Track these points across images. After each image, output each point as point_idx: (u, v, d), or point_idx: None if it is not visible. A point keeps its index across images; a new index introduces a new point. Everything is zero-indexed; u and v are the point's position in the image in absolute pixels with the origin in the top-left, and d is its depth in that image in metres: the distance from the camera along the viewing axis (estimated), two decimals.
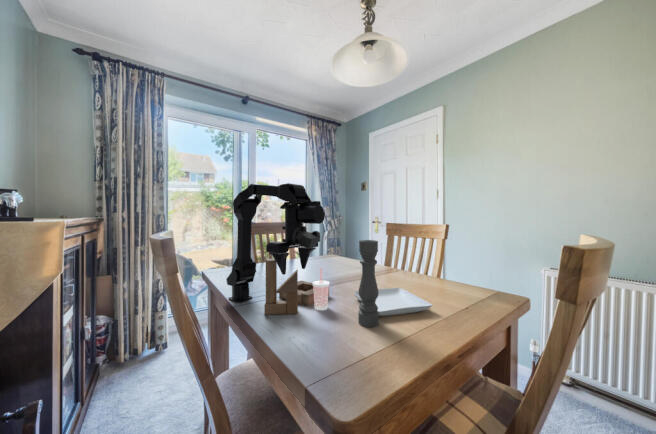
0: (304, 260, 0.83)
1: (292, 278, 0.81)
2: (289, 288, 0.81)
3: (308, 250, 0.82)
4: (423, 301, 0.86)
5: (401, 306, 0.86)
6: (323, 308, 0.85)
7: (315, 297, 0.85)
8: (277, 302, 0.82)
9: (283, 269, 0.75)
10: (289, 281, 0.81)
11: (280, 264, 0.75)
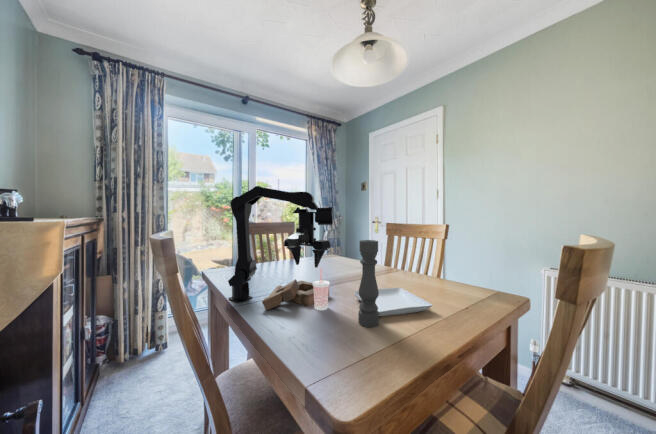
0: None
1: None
2: (287, 285, 0.92)
3: None
4: (423, 301, 0.86)
5: (401, 306, 0.86)
6: (323, 308, 0.85)
7: (315, 297, 0.85)
8: None
9: None
10: None
11: None
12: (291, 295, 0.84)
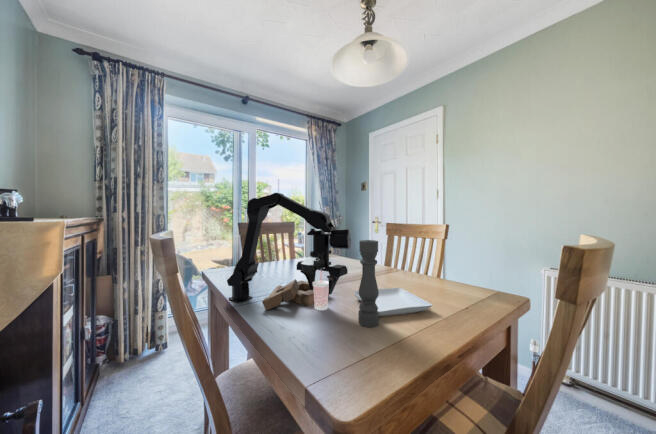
0: None
1: None
2: (287, 285, 0.92)
3: None
4: (423, 301, 0.86)
5: (401, 306, 0.86)
6: (323, 308, 0.85)
7: (315, 297, 0.85)
8: None
9: None
10: None
11: None
12: (291, 295, 0.84)
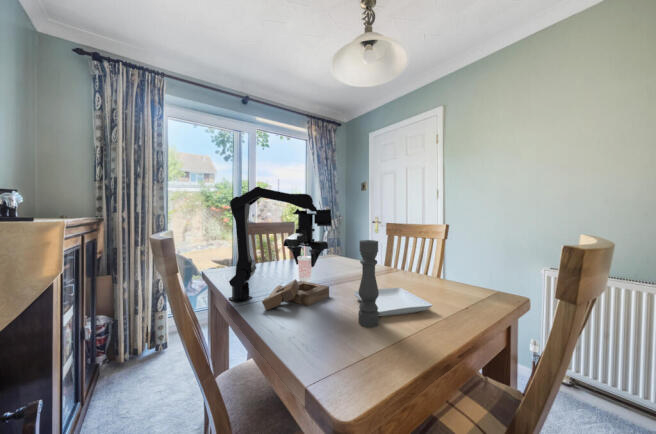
0: None
1: None
2: (287, 285, 0.92)
3: None
4: (423, 301, 0.86)
5: (401, 306, 0.86)
6: (307, 279, 0.95)
7: (300, 270, 0.95)
8: None
9: None
10: None
11: None
12: (291, 295, 0.84)
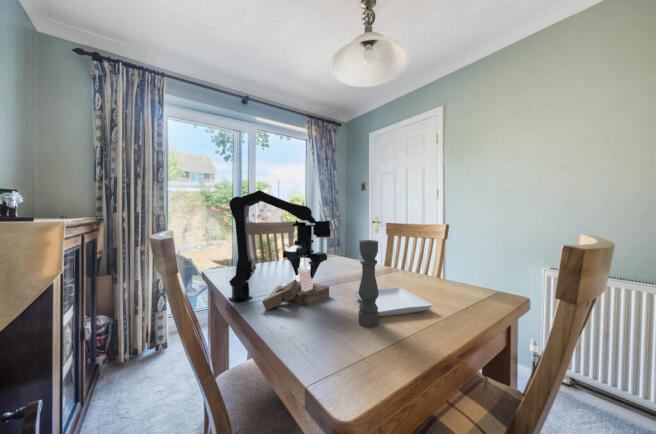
0: None
1: None
2: (287, 285, 0.92)
3: None
4: (423, 301, 0.86)
5: (401, 306, 0.86)
6: None
7: (302, 281, 0.96)
8: None
9: None
10: None
11: None
12: (291, 295, 0.84)
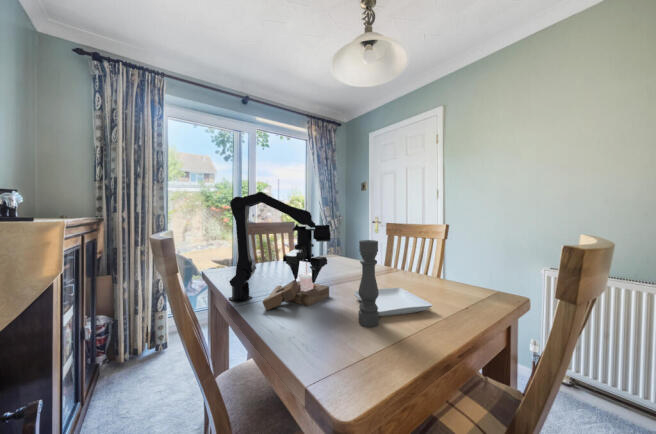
0: None
1: None
2: (287, 285, 0.92)
3: None
4: (423, 301, 0.86)
5: (401, 306, 0.86)
6: None
7: (301, 287, 0.96)
8: None
9: None
10: (288, 283, 0.95)
11: None
12: (291, 295, 0.84)
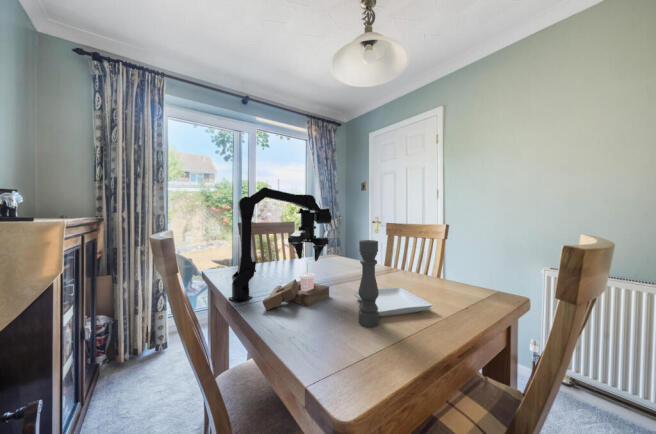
0: None
1: None
2: (287, 285, 0.92)
3: None
4: (423, 301, 0.86)
5: (401, 306, 0.86)
6: None
7: (301, 287, 0.96)
8: None
9: None
10: (288, 283, 0.95)
11: None
12: (291, 295, 0.84)
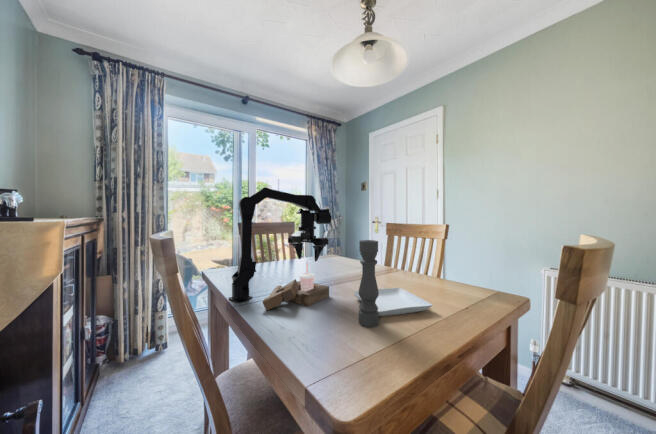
0: None
1: None
2: (287, 285, 0.92)
3: None
4: (423, 301, 0.86)
5: (401, 306, 0.86)
6: None
7: (301, 287, 0.96)
8: None
9: None
10: (288, 283, 0.95)
11: None
12: (291, 295, 0.84)
